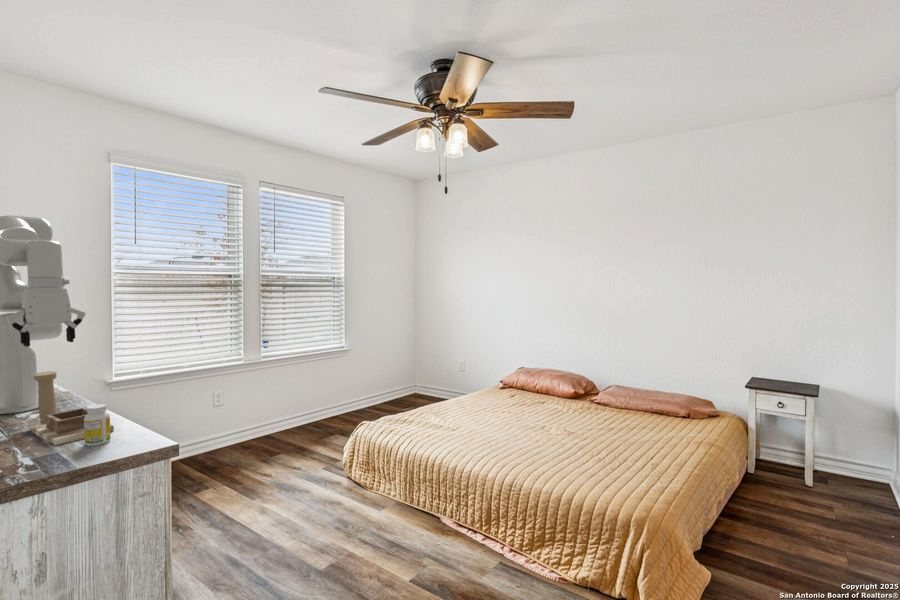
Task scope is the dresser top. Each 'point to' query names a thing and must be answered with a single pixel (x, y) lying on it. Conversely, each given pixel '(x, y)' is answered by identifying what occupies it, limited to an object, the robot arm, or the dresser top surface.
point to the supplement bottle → (97, 425)
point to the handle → (46, 394)
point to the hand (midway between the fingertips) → (49, 343)
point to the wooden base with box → (64, 426)
